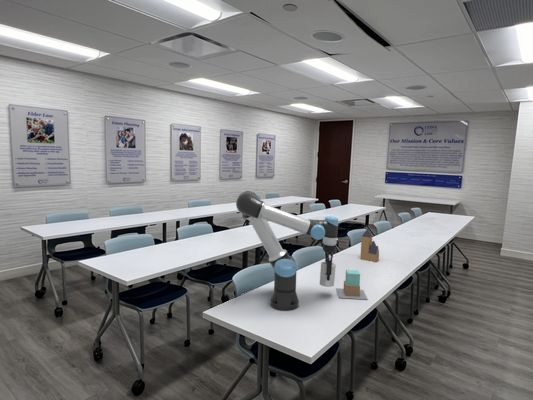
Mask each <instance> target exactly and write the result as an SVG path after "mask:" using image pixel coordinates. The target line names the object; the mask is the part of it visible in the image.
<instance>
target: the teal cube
mask: <svg viewBox="0 0 533 400" xmlns="http://www.w3.org/2000/svg"><path fill="white" fill-rule="evenodd" d="M344 281H346V284H347V285H349V286H360V287H361V285H360V284H361V273H360V271H359V270H358V269H345V279H344Z"/></svg>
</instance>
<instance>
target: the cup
mask: <svg viewBox="0 0 533 400" xmlns="http://www.w3.org/2000/svg"><path fill="white" fill-rule="evenodd" d="M336 266H337V265H336V263H335V262H332V270H331V279H330V286H325V279H326V275H325V273H326V269H327V262H325V261H322V262H320V272H319V273H320V275H319V285H320V286H322V287H326V288H327V287H328V288H331V287H334V286H335V275H336ZM329 273H330V272H329Z"/></svg>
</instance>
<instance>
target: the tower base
mask: <svg viewBox="0 0 533 400" xmlns="http://www.w3.org/2000/svg"><path fill="white" fill-rule="evenodd" d="M335 290H336V294H337V297H338V299H342V300H343V299H345V300H356V301H357V300H360V301H368V300H369V299H368V297H367V295H366V293H365V290H364V289H361V285H360V286H349V285H347V284H346V281H345V280H344V281H343V288H337V287H336V288H335Z"/></svg>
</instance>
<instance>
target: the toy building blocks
mask: <svg viewBox="0 0 533 400" xmlns="http://www.w3.org/2000/svg"><path fill="white" fill-rule="evenodd" d="M360 241H361V243H360V257H359V258H360V260H361V261H366V262H371V261H372V263H378V262H379V261H380V260H379V259H380V250H379V245H377V244H376V241H375V240H373V234H371V232H370V230H369V229H368V228H366V230H365V231H364V233H363V234H362V235H361V240H360Z"/></svg>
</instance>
